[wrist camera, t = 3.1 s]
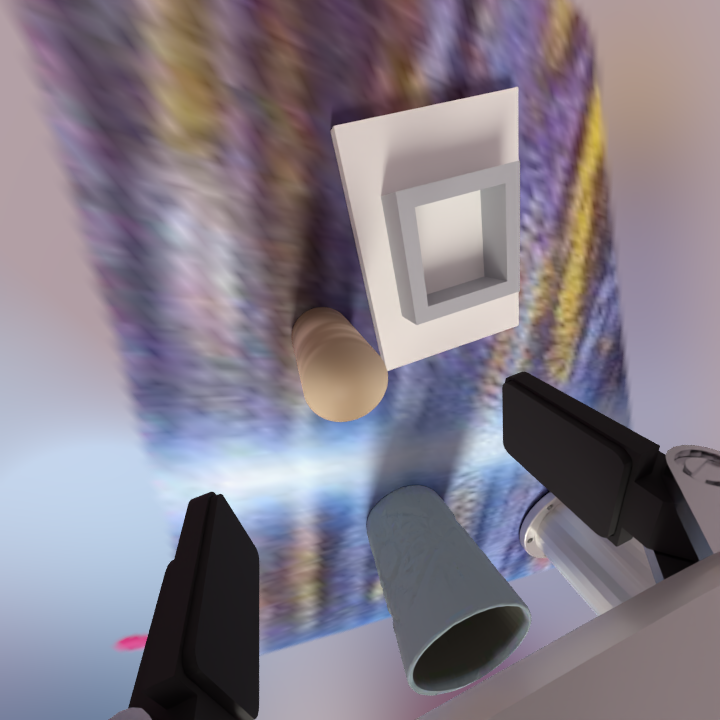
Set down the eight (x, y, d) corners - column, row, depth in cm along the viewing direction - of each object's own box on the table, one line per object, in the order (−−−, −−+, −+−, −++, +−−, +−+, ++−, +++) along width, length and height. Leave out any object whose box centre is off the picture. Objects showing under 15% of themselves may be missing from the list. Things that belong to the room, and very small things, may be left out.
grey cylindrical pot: (347, 506, 30) (391, 659, 19) (439, 461, 31) (529, 582, 20) (377, 563, 34) (426, 713, 24) (456, 522, 36) (537, 647, 25)
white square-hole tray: (506, 93, 20) (551, 67, 17) (510, 322, 27) (542, 334, 24) (330, 131, 18) (343, 110, 15) (382, 366, 25) (399, 385, 22)
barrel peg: (342, 299, 22) (378, 331, 15) (356, 353, 24) (394, 404, 17) (283, 317, 21) (291, 360, 14) (302, 371, 23) (317, 433, 16)
